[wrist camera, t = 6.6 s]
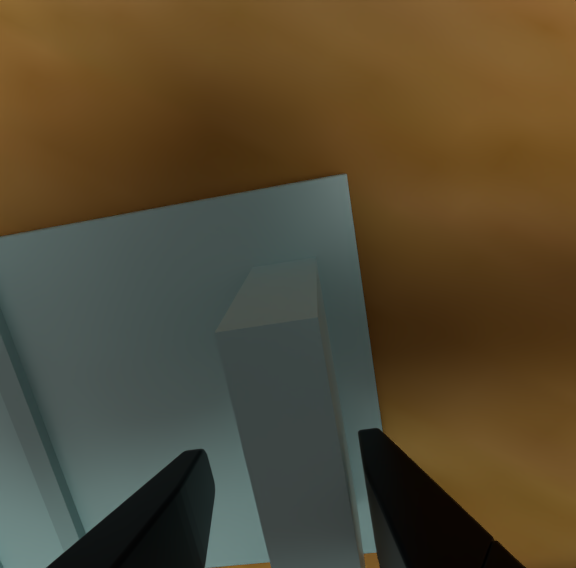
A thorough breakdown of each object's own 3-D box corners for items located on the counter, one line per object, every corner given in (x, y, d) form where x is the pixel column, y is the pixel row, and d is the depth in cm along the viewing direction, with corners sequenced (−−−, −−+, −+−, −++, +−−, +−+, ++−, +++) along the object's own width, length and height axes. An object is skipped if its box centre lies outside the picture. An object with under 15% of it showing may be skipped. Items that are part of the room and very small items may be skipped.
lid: (342, 173, 11) (370, 182, 5) (390, 508, 13) (439, 733, 8) (-159, 264, 12) (-520, 341, 7) (-25, 550, 15) (-211, 763, 10)
